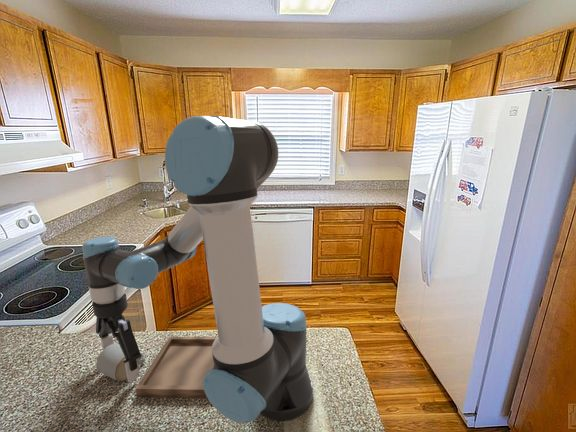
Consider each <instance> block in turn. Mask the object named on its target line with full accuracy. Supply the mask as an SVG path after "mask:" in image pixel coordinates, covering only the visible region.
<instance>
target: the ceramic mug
mask: <svg viewBox="0 0 576 432" xmlns="http://www.w3.org/2000/svg"><path fill="white" fill-rule="evenodd" d="M140 353H141V357H139V358H138V359H137V362H138V366H140V365H143V364H144V363H145V359H146V355H145V354H143V353H142V352H140ZM125 359H126V358H125V356H124V354H123V352H122V349H121V347H120V345H119V343H114V344H111V345H109V346H107V347H106V348H105V349H104V350H103V349H102V351H101V352H100V354H99V355H98V357H97V359H96V363H95V366H96V369H97V371H98V372H99V373H101V374H103V375H105V376H106V377H108V378H111V379H113V380H114V381H118V382H123V381H126V380H127V381H128V379H127V373H126V368H125V363H124V362H123V361H124V360H125Z"/></svg>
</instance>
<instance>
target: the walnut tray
mask: <svg viewBox="0 0 576 432" xmlns="http://www.w3.org/2000/svg"><path fill="white" fill-rule="evenodd" d="M217 337H218V336H169V337H168V338H167V340H166V341H165V342H164V344H163V346H162V347H161V349H160V350H159V352H158V353H157V355H156V356H155V358H154V359H153V361H152V363H150V366H149V367H148V369H147V370H146V372H145V373H144V374H143V376H142V378H141V379H140V381H139V382H138V384H137V386H136V387H135V394H136V395H135V396H136V398H155V399H156V398H157V399H158V398H159V399H160V398H161V399H162V398H165V399H166V398H167V399H169V398H170V399H174V398H175V399H181V398H182V399H208V398H207V396H206V394H205V391H204V387H203V380H204V377H205V376H206V375H207V372H208V371H209V370H211V369H212V368H213V367H214V361H213V355H212V345H213V342H214V340H215V339H216V338H217Z"/></svg>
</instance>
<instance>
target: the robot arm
mask: <svg viewBox="0 0 576 432" xmlns="http://www.w3.org/2000/svg"><path fill="white" fill-rule="evenodd" d="M278 160H279V147H278V142H277V140H276V138H275V136H274V135H273V133H272V132H271V131H270V130H269V128H268V127H266V126H265V125H264V124H262V123H260V122H258V121H255V120H252V119H239V118H231V117H224V116H219V115H196V116H191V117H187V118H185V119H183V120H182V121H180V122H179V123H178V124H176V126H175V127H174V128H173V130H172V134H169V136H168V139H167V141H166V145H165V150H164V164H165V169H166V174H167V176H168V179H169V181H170V182H172V183H174V184H173V186H174V187H175V189H176V190H178V191H179V192H180V193H182V194H185V195H186V197H187V204H188V206H190V207H189V208H188V210H186V212H185V213H184V215H182V217H181V218H180V219H179V221H178V222H177V223H176V224H175V226H174V227H173V228H172V229H171V230H170V231H169V233H168V234H167V235H166V236H165V238H164V239H162V240H159V241H156V242H154V243H151V244H148V245H146V246H142V247H139V248H137V249H133V250H130V251H127V250H123V249H120V245H119V243H118V240H117V237H114V236H99V237H95V238H91V239H88V240H87V241H85V242H84V243H83V244H82V247H81V249H82V260H83V264H84V268H85V272H86V278H87V282H88V283H87V284H88V291H89V295H90V300H91V304H92V310H93V314H94V316H95V317H96V322H95V324H96V325H95V333H96V334H98V337H99V339H100V341H101V342H100V343H101V348H102V351H103V350H104V349H105V348H106V347H107V346H109V345H111V344H115V343H114V338H115V339H116V340H117V344H119V345H120V347H121V349H122V352H123V354H124V356H125V358H126V359H125V360H124V361H123V362H124V363H125V368H126V373H127V382H128V383H131V382H133V381H134V380H136V379H138V378H139V377H140V369H139V365H138V362H137V359H138V358H139V357H141V353H142V352H141V351H140V348H139V346H138V343H137V340H136V337H135V335H134V332H133V329H132V325H131V320H129V319H126V318H125V317H124V315H123V313H124V312H125V310H126V309H127V308H128V300H127V299H128V298H127V294H126V288H129V289H131V288H133V289H136V290H142V289H146V288H148V287H150V286H151V285H152V283H153V282H154V281H155V280H156V279H157V277H158V274H160V273H162V272H165V271H166V270H168V269H171V268H173V267H175V266H178V265H180V264H182V263H185V262H187V261H188V260H190V259H191V258H193V257H194V256H195V255H196V253H197V249H198V248H197V247H198V245H200V243H201V242H202V241H203V244H204V254H205V259H206V263H207V264H206V266H207V271H208V273H207V274H208V278H209V285H210V292H211V298H212V304H213V310H214V311H213V312H214V316H215V317H214V318H215V323H216V330H217V331H216V332H217V336H216V337H217V338H216V339H215V340H214V342H213V345H212V355H213V361H214V367H213V368H212V369H211V370H209V371H208V372H207V375H206V376H205V377H204V380H203V387H204V391H205V394H206V396H207V398H206V399H207V400H208V401H209V403H210V404H211V405H212V407H213V408H215V409H216V411H217V412H219V414H221V415H222V416H224V417H225V418H226V419H228V420H230V421H233V422H234V423H239V424H249V423H251V422H253V421H255V420H256V419H257V418H258V417H259V415H262V416H263V417H266V418H268V419H270V420H274V421H282V422H283V421H289V420H293V419H296V418H298V417H300V416H301V415H304V413H305V412H306V411H307V410H309V407H310V406H311V405H312V402H313V398H314V384H313V380H312V378H311V376H310V374H309V371H308V368H307V328H308V324H307V319H306V314H305V312H304V311H303V310H302V309H301V308H299V307H298V306H296V305H293V304H291V303H285V302H275V303H274V302H273V303H268V304H264V305H262V298H261V289H260V280H259V270H258V265H257V254H256V246H255V238H254V230H253V222H252V220H253V219H252V214H251V211H252V210H251V206H252V204H253V203H254V201H256V199H257V198H258V189H259V188H260V187H261V185H263V184H264V183H265V182H266V181H267V179H268V178H270V176H271V175H272V173H273V172H274V170H275V168H276V167H277V163H278Z"/></svg>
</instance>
